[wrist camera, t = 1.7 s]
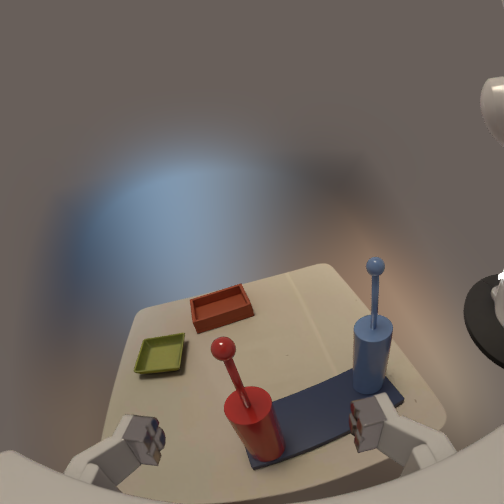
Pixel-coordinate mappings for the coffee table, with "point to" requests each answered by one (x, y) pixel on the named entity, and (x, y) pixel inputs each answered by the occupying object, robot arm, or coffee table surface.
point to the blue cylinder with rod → (371, 340)
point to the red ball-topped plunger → (250, 410)
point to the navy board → (319, 415)
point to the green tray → (160, 354)
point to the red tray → (220, 308)
